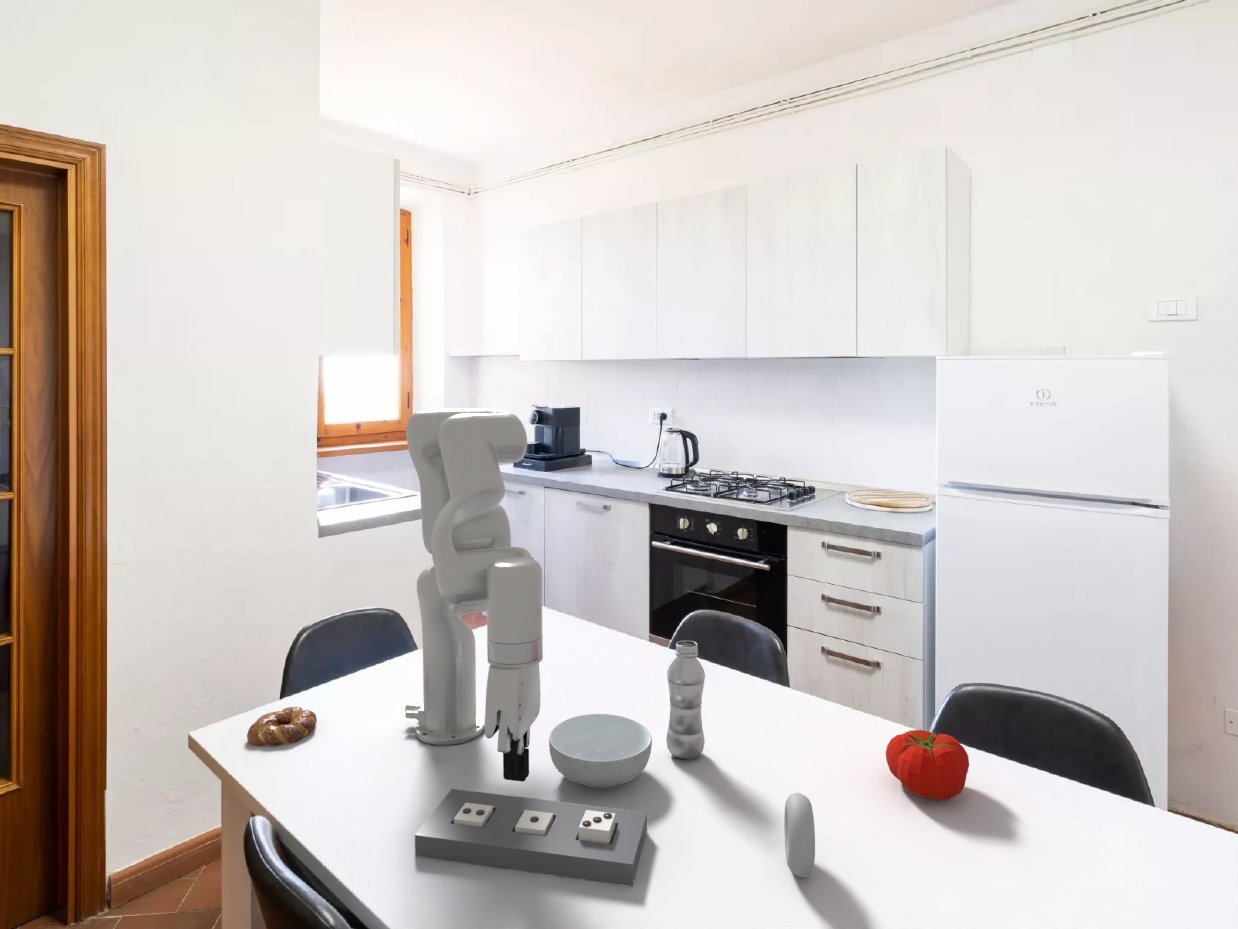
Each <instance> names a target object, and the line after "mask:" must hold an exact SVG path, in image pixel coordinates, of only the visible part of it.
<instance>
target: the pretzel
mask: <svg viewBox="0 0 1238 929" xmlns="http://www.w3.org/2000/svg"><path fill="white" fill-rule="evenodd" d="M317 721H318V720H317V715H316V713H315V712H314V711H312V710H308V709H305V710H303V708H302V707H299V706H288V707H286V708H283V709H282V710H277V711H271V712H267V713H265V714H263V715H262V716H260V717H259V718H258V719H257V720H256V721H255V722H254V723H252V725H251V726H249V728H248V730H247V734H246V737H247V742H248V743H250V745H252V746H255V747H265V746H270V747H279V746H282V745H285V744H295V743H297V742H300V741H301V740H303V739H304V738H305V737H308V736H310V735H311V734H312V733H313V732H314V731H315V729H316V727H317V723H318V722H317Z"/></svg>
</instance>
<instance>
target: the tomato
mask: <svg viewBox="0 0 1238 929" xmlns="http://www.w3.org/2000/svg"><path fill="white" fill-rule="evenodd" d="M903 732H904V733H901V734H896V735H895V736H893V738H891V739H890V740H889V742H888V744H887V745H886V749H885V760H886V763H887V766H888V769H889V771H890V773H891V774H892V775H893V777H895V778H896V779H897V780H899V782H900V783H901V785H902V786H903V787H904V788H905V789H907V790H908V791H910V793H912V794H913V795H916V796H918V797H921V798H927V799H931V800H935V801H939V802H940V801H949V800H951V799H953V798H955V797H956V796H958V795H959V794H961V793H962V792H963V790H964V788H965V784H966V782H967V781H966V780H967V776H968V772H969V768H970V759H969V755H968V753H967V751H966V749H965V747H964V746H963V745H962V744H961V743H960V742H959V741H958V740H957V739H956V738H955V737H954V736H951V735H948V734H945V733H938V734H936V732H931V731H929V730H923V729H912V730H907V731H903Z"/></svg>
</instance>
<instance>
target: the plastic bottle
mask: <svg viewBox="0 0 1238 929" xmlns="http://www.w3.org/2000/svg"><path fill="white" fill-rule="evenodd" d="M698 646H699V645H698V643H697V642H696V641H693V640H680V641H679V640H678V641H677V642H676V643H675V651H674V652H675V653H674V654H675V655H676V657H675V658H674V659H673V660H672V662H671V663H670V664H669V666H668V668H667V671H666V672H667V673H666V674H667V676H666V678H667V685H668V691H669V692H668V693H669V711H670V712H669V721H668V727H667V731H666V740H665V741H666V746H667V750H668V751H669V752H670V754H671V756H674V757H675V758H678V759H683V760H684V759H685V760H689V759H690V760H693V759H695V758H696V759H697V758H698V757H700V755H701V754H702V753H703V752H704V748H705V743H706V742H705V734H704V729H703V720H702V719H703V718H702V702H703V691H704V686H705V679H706V672H705V669H704V667H703V665H702V663H701V662H700V661H699V659H698V658H697V657H698V656H699V649H698V648H699V647H698Z"/></svg>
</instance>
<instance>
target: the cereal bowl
mask: <svg viewBox="0 0 1238 929" xmlns="http://www.w3.org/2000/svg"><path fill="white" fill-rule="evenodd" d="M652 745H653V736H652V734H651V732H650V731H649V729H648V727H646V726H645V725H643V724H642V723H640V722H639V721H637V720H635V719H632V718H629V717H626V716H621V715H618V714H610V713H590V714H588V713H587V714H583V715H576V716H573V717H570V718H567V719H565V720H563V721H560V723H558V724H557V725H555V726H554V727H553V728H552V729H551V731H550V734H549V738H548V747H549V750H548V751H549V755H550V760H551V761H552V763H553V765H554V767H555V769H557V770H558V771H557V772H559V773H560V774H561V775H563V777H565V778H566V779H568V780H569V781H572V782H574V783H576V784H579V785H583V786H587V787H591V788H598V789H599V788H600V789H601V788H602V789H605V788H609V787H614V786H619V785H622V784H624V783H625V784H626V783H627V782H630V781H631V780H633V779H634V778H636V777H637V776H639V775H640V774H641V772H643V771H644V769H645V768H646V766H647V765H648V762H649V760H650V757H651V753H652Z"/></svg>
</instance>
